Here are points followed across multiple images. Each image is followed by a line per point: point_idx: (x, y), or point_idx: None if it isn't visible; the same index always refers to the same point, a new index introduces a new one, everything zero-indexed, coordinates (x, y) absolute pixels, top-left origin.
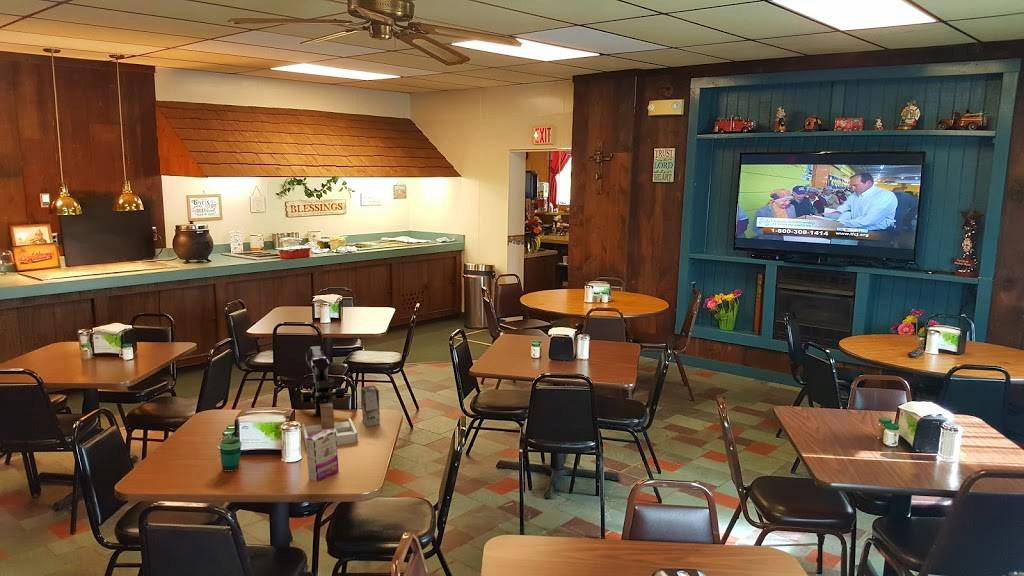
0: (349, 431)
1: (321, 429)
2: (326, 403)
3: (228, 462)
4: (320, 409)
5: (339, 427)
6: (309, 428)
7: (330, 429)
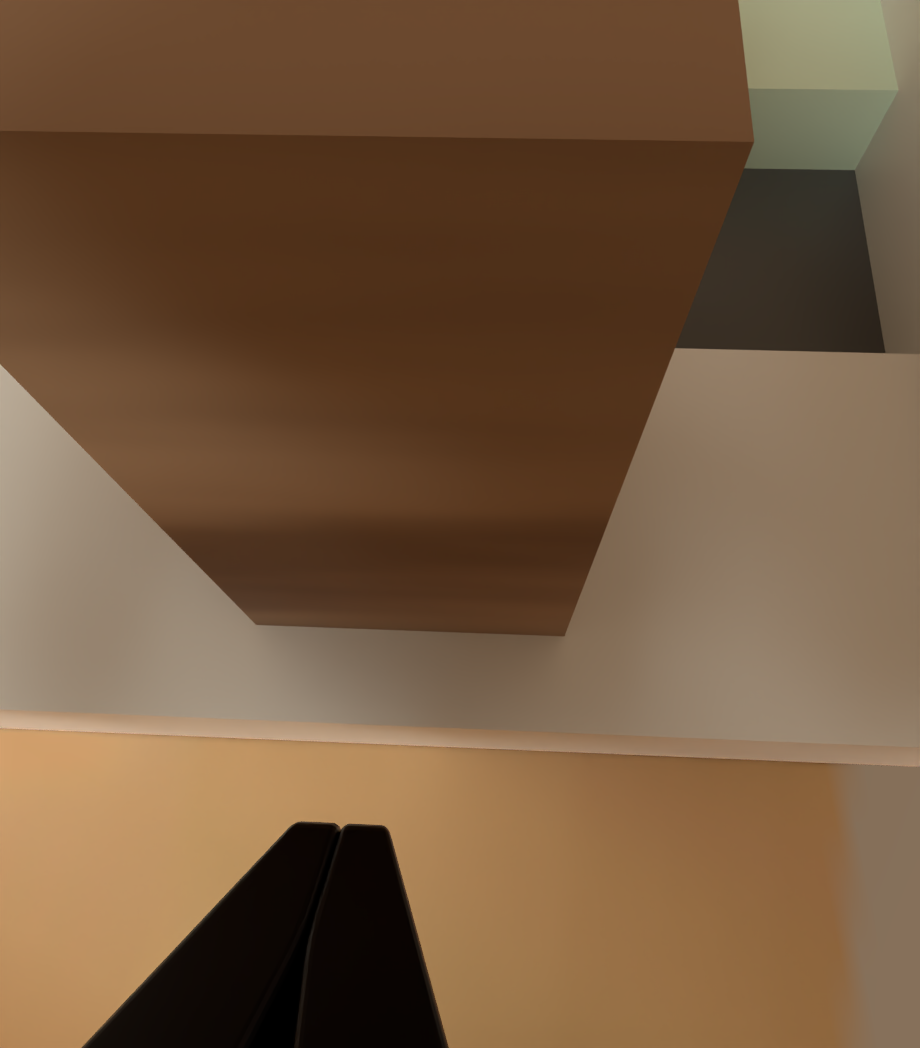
0: None
1: None
2: (212, 124)
3: None
4: (656, 393)
5: None
6: (883, 563)
7: None
